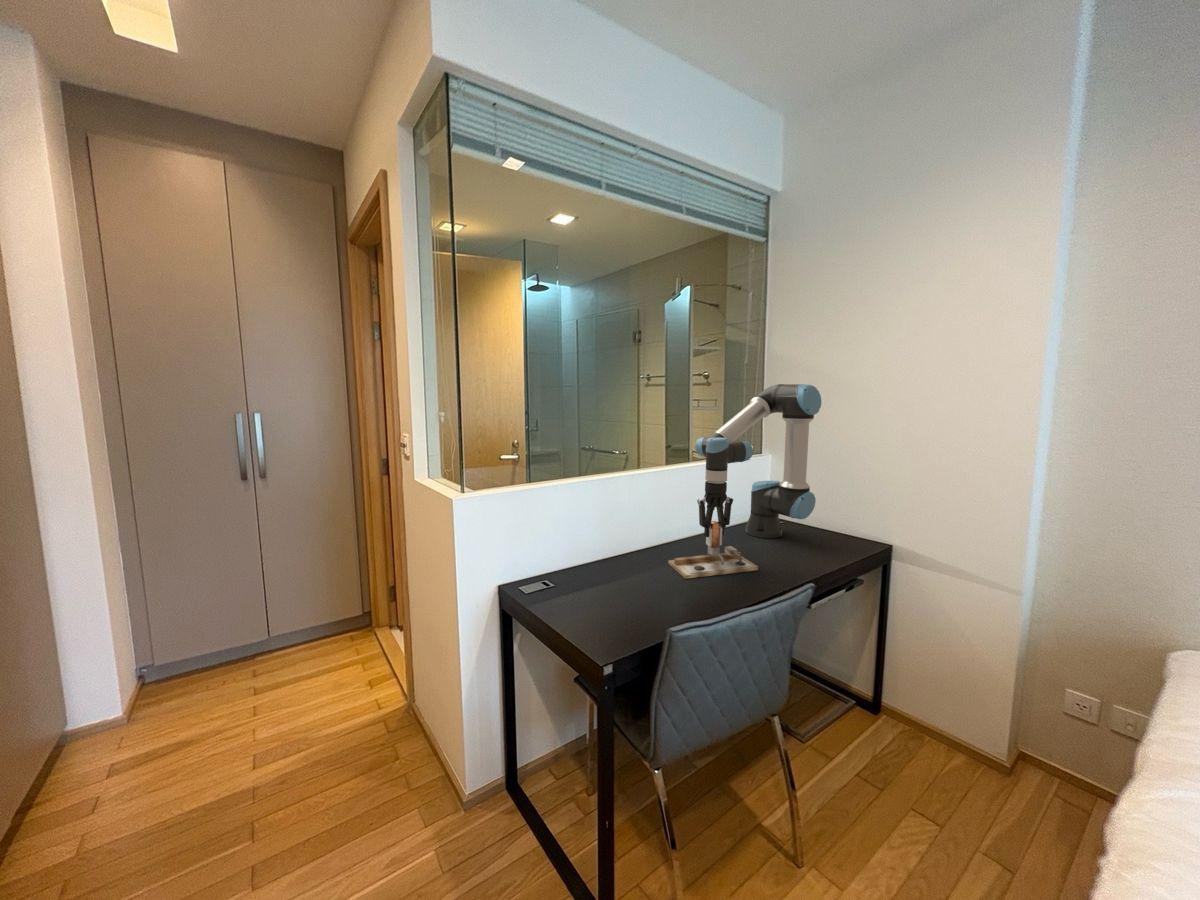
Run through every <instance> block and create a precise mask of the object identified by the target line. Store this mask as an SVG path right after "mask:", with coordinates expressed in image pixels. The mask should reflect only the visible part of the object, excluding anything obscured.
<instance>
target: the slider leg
mask: <svg viewBox="0 0 1200 900" xmlns="http://www.w3.org/2000/svg"><path fill="white" fill-rule="evenodd" d="M710 528H712V546H708V545H707V555H711V556H713V557H715V556H717V557H718V558H720V559H721V565H724V560H725V558H723V557H722V556H720V553H721V549H720V547H719V546H720V545H719V522H718V521H715V520H714V521H713V520H711V526H710Z"/></svg>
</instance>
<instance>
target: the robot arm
mask: <svg viewBox="0 0 1200 900" xmlns="http://www.w3.org/2000/svg"><path fill="white" fill-rule="evenodd" d="M821 407H822V396H821V393H820V391H819V390H818V388H817V387H816V386H814V385H812V384H805V383H800V384H796V383H795V384H792V383H791V384H790V383H789V384H787V383H786V384H785V383H784V384H783V383H779V384H775V385H771V386H769V387H768V388H766V389H764V390H762V391H760V392H759V393H757V394H756V395H755V396H754V397H752V398H751V399H750V400H749V404H748V405H746V406H745V407H744V408H742V410H740V411H738V413H736V414H735V415H734V416H733V417H731V418H730V419H728V420H727V422H725V423H724V424H723V425H722V426H721V427H720V428H718V429H717V430H716V431H715V432H713V433H712V434H711V435H709V436H708V437H707V436H704V437H703V436H702V437H699V438H698V439H697V440H696V441H695V445H694V450H695V452H696V454H697V455H698V456H701V457H704V458H705V477H704V478H705V482H704V493H705V494H704V496H703V498H701V499H700V498H699V499H697V504H698V513H699V514H698V516H699V517H698V521H699V525H700V527H702V528H704V536H705V545H707V547H708V546H712V528H710V526H711V521H713V520H712V519H713V515H714V511H715V509H716V512H717V513H716V514H717V520H718V521H717V522H719V546H722V545H723V543H722V542H723V536H724V535H725V528H727V526H729V525H730V523H731V514H732V513H731V512H732V506H733V505H732V504H733V502H734V498H732V497H730V496H728V495H727V486H728V483H727V481H728V465H729V464H734V463H735V464H736V463H744V462H747V461H749V460H751V458H752V456H753V453H754V452H753V451H754V449H753V446H752V444H751V443H750V442H748V441H746V440H739V441H736V440H738V439H739V438H740V437H741V436H742V435H743V434H744V433H745V432H747V431H748V430H749V429H750V428H752V426H754V425H755V424H757V423H758V421H760V420H761V419H763V418H767V417H769V416H770V415H771V414H774V413H780V414H781V413H782V419H783V421H784V422H785V438H784V458H783V459H784V461H783V478H782V479H783V480H782V481H781V482H780V481H778V480H760V481H759V480H758V481H755V482H753V483H752V485H751V491H750V492H751V495H750V515H749V516H748V517H749V518H748V521H747V523H746V526H745V533H747V534H748V535H749V536H752V537H756V538H762V539H777V538H780V537H782V536H783V528H782V523H781V521H780V515H781V516H784V517H788V518H791V519H796V520H805V519H806V518H808V517H809V516H810V515H811V514H812V513H813V511H814V508H815V506H816V497H815V494H814V493H813V492H811V490H810V489H811V486H810V485H809V483H807V471H808V470H807V469H808V452H809V449H808V448H809V435H810V434H809V433H810V423H811V422H812V421H813V420H814V418H815V415H817V414H818V413H819V412H820V409H821Z"/></svg>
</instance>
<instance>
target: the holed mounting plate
mask: <svg viewBox="0 0 1200 900" xmlns="http://www.w3.org/2000/svg"><path fill="white" fill-rule="evenodd" d="M720 556H722V557H723V558H725V560H724V565H721V559H720V558H718V557H717V556H715V557H713V556H711V555H710V554H701V555H694V556H684V557H675V558H674V559H669V560H667V562H668V565H669V566H671V567H672V568H673V569H674V570H675V571H676V572H677V573H678V574H679V575H680V576H681V577H683V579H685V580H687V579H695V578H696V579H697V578H702V577H710V576H711V577H712V576H720V575H728V574H738V573H745V572H752V571H759V566H758V565H756V564H755V563H753V562H752V561H750V560H748V559H746V557H744V556H742V552H741V551H738V549H737V548H736V547H734V546H732V545H728V546H724V552H722V553H721V552H720Z"/></svg>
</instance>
